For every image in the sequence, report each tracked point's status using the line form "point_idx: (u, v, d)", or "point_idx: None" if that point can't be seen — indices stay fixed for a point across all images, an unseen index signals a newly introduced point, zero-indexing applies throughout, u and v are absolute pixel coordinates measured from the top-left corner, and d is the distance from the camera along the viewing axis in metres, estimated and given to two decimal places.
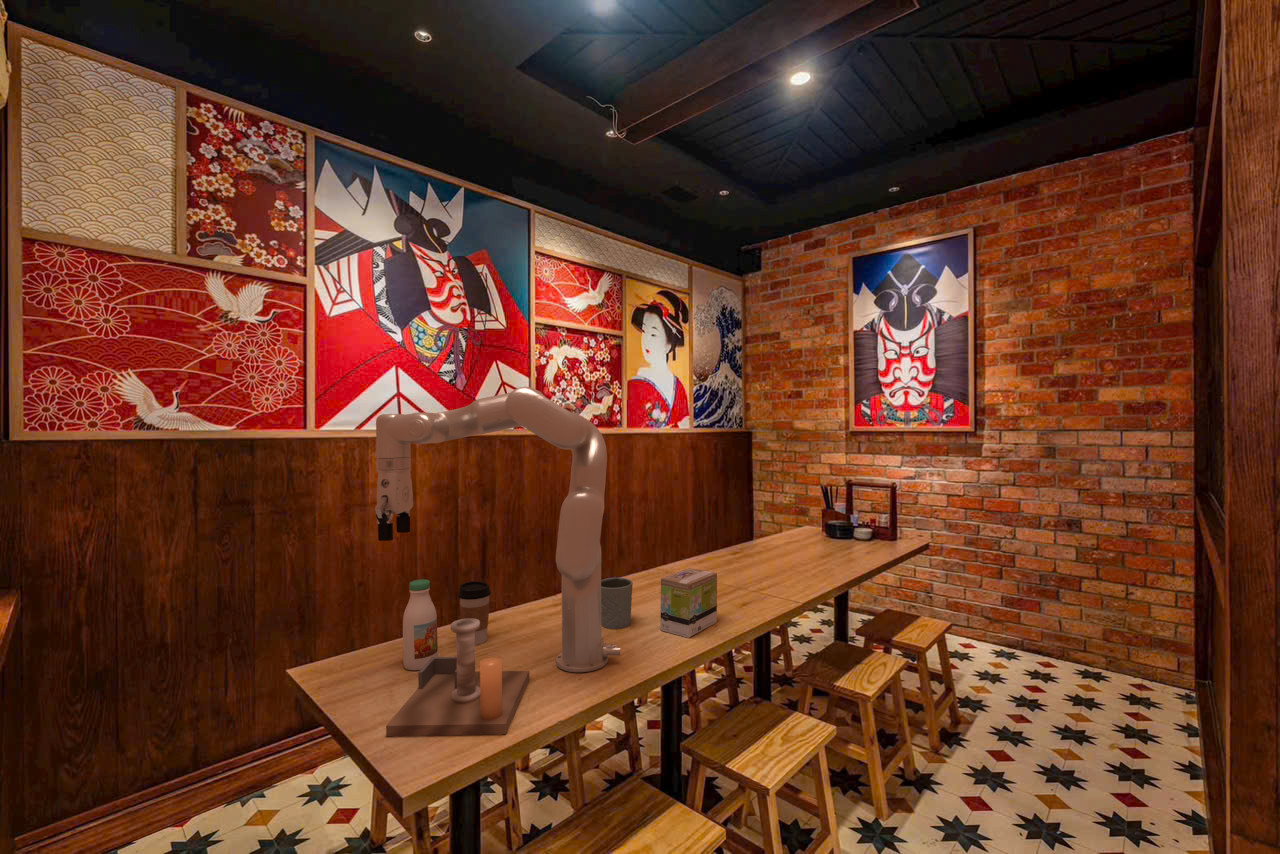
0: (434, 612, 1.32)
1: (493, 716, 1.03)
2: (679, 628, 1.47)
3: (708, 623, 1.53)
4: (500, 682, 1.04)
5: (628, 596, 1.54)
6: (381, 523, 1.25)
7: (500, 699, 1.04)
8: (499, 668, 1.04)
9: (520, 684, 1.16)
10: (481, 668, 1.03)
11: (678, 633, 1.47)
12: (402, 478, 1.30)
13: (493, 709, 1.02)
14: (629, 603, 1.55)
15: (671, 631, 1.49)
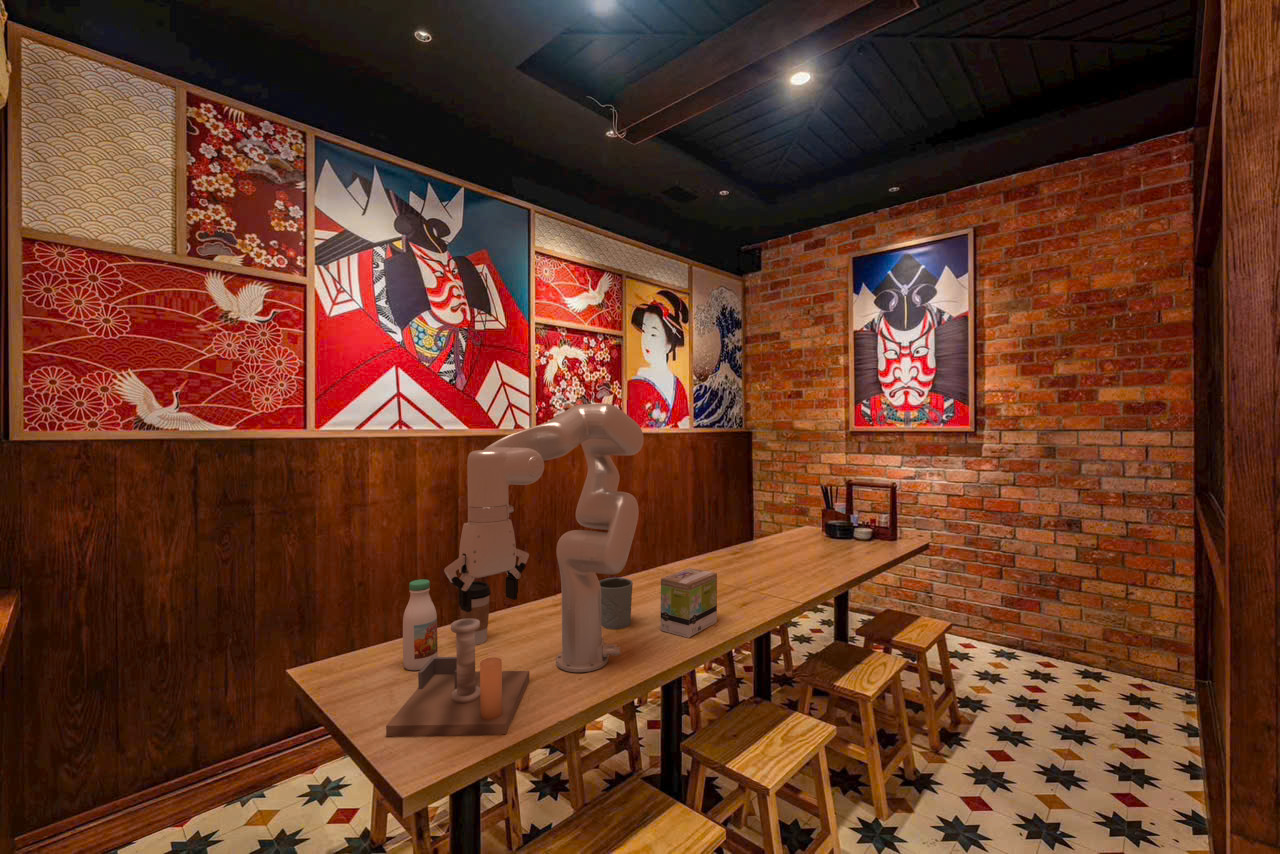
0: (434, 612, 1.32)
1: (493, 716, 1.03)
2: (679, 628, 1.47)
3: (708, 623, 1.53)
4: (500, 682, 1.04)
5: (628, 596, 1.54)
6: None
7: (500, 699, 1.04)
8: (499, 668, 1.04)
9: (520, 684, 1.16)
10: (481, 668, 1.03)
11: (678, 633, 1.47)
12: None
13: (493, 709, 1.02)
14: (629, 603, 1.55)
15: (671, 631, 1.49)
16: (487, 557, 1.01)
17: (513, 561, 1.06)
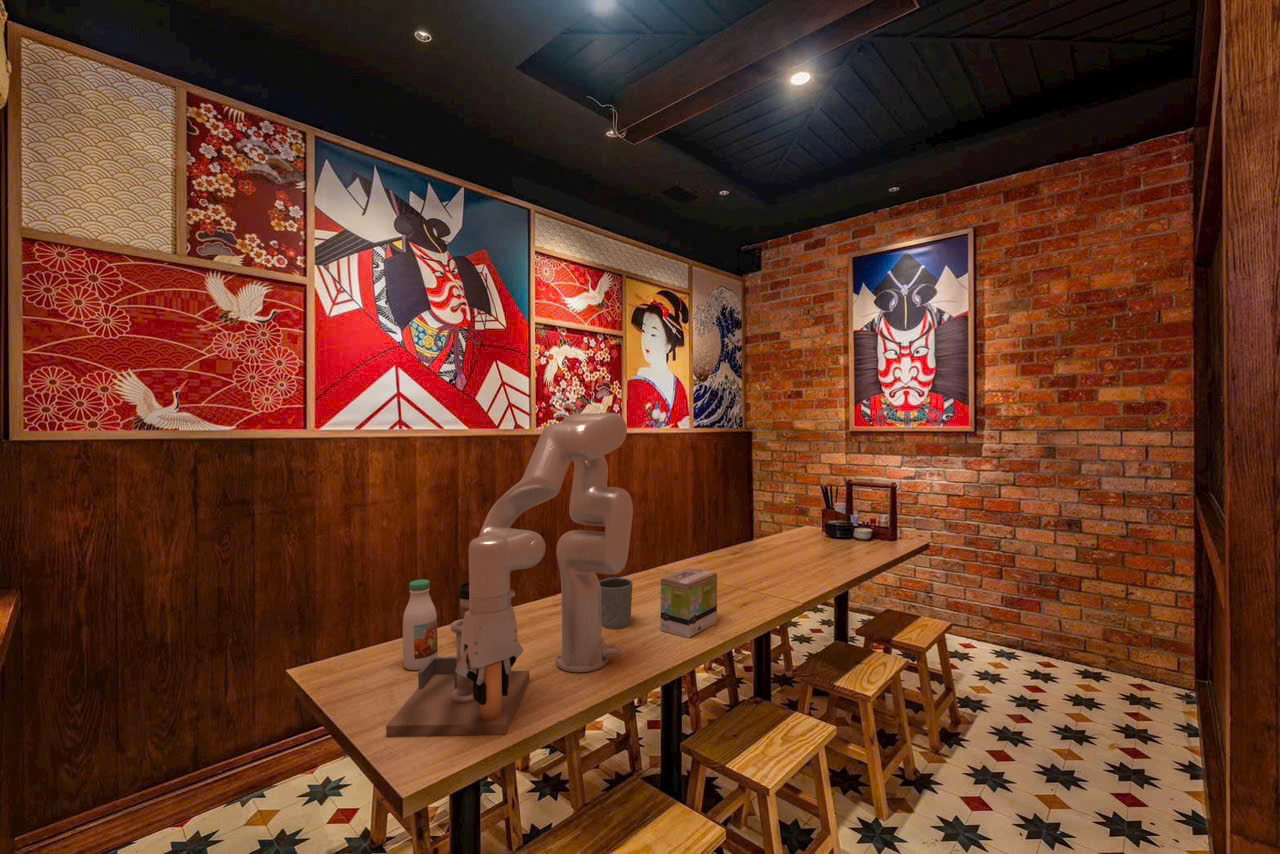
0: (434, 612, 1.32)
1: (493, 716, 1.03)
2: (679, 628, 1.47)
3: (708, 623, 1.53)
4: (500, 682, 1.04)
5: (628, 596, 1.54)
6: None
7: (500, 699, 1.04)
8: (499, 668, 1.04)
9: (520, 684, 1.16)
10: None
11: (678, 633, 1.47)
12: None
13: (493, 709, 1.02)
14: (629, 603, 1.55)
15: (671, 631, 1.49)
16: (489, 647, 1.01)
17: (515, 647, 1.06)
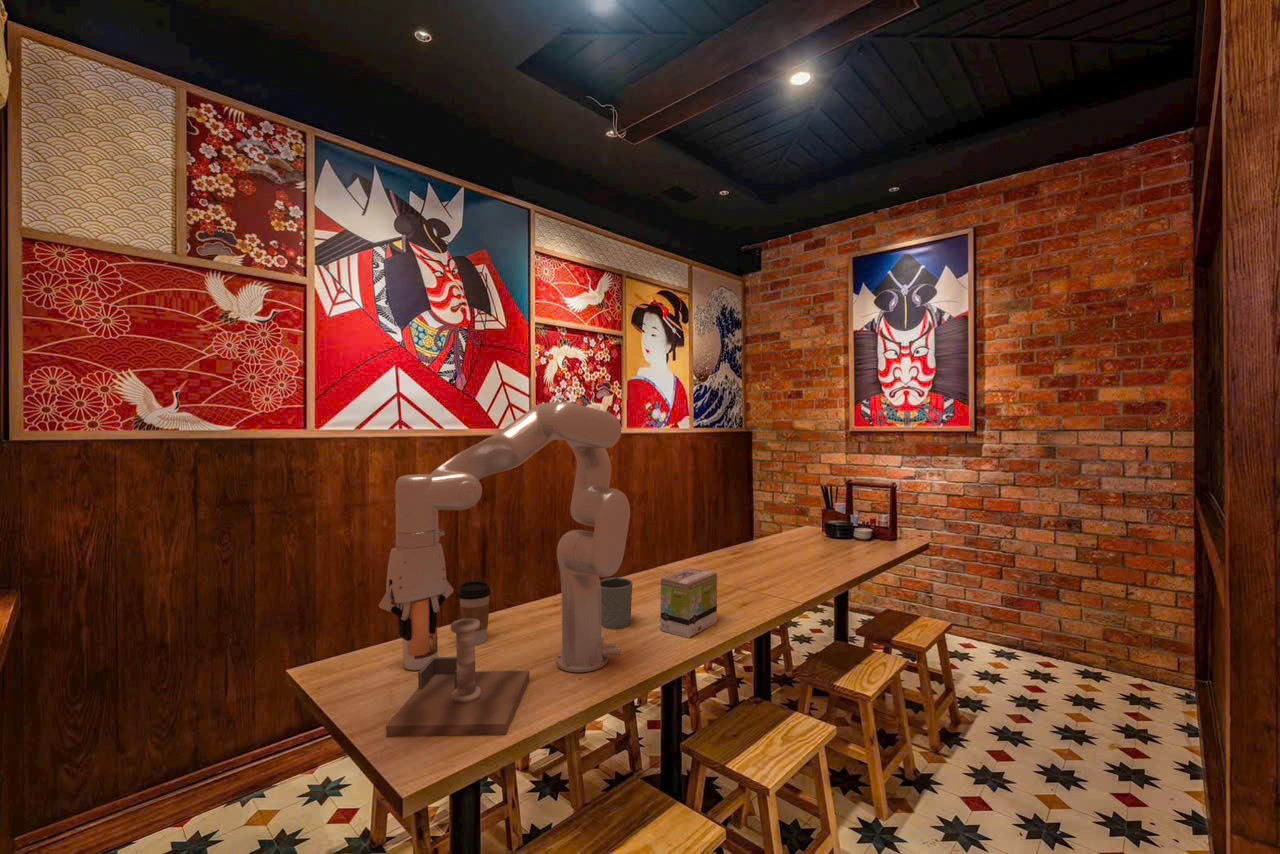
0: None
1: (419, 652, 1.02)
2: (679, 628, 1.47)
3: (708, 623, 1.53)
4: (427, 619, 1.04)
5: (628, 596, 1.54)
6: None
7: (427, 636, 1.04)
8: (426, 605, 1.03)
9: (520, 684, 1.16)
10: None
11: (678, 633, 1.47)
12: None
13: (419, 645, 1.02)
14: (629, 603, 1.55)
15: (671, 631, 1.49)
16: (414, 583, 1.01)
17: (443, 585, 1.06)
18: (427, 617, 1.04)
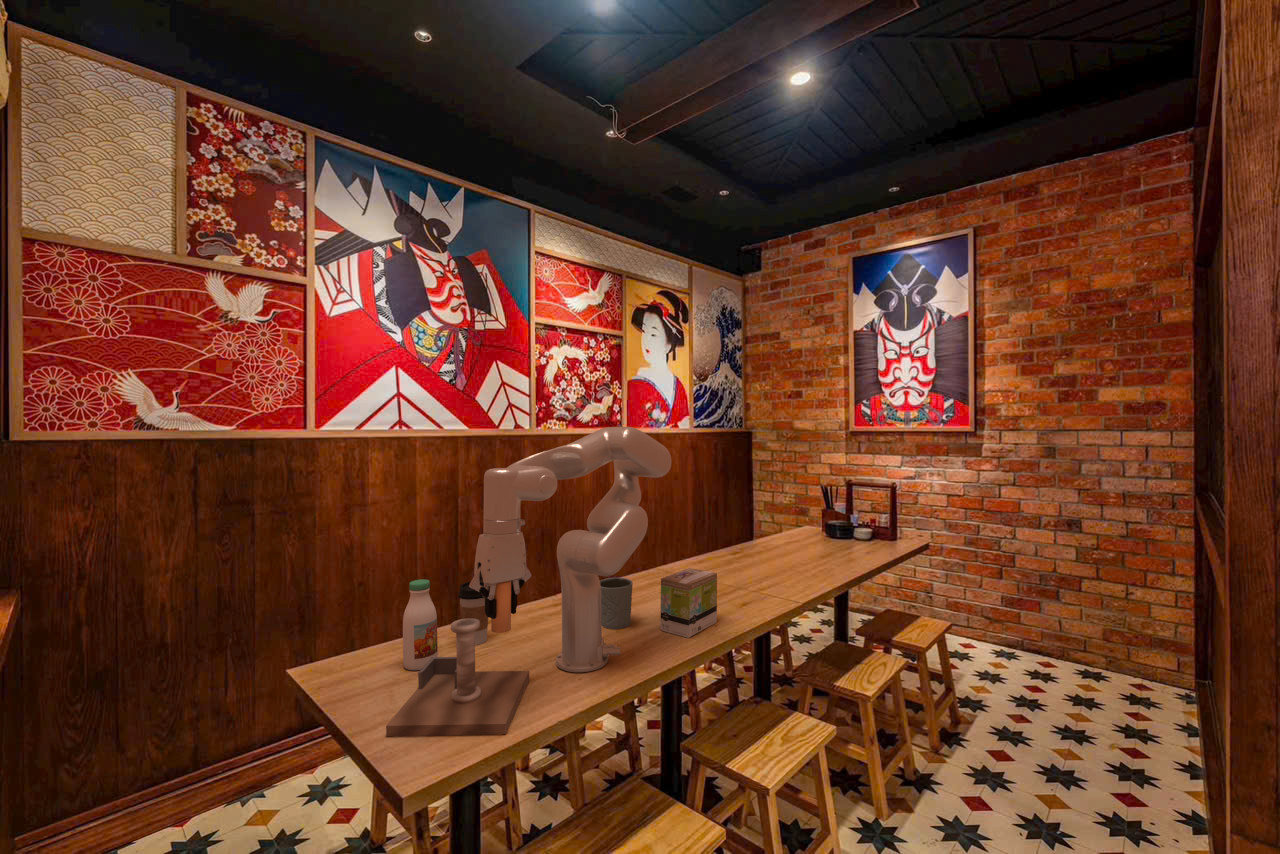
0: (434, 612, 1.32)
1: (502, 630, 1.13)
2: (679, 628, 1.47)
3: (708, 623, 1.53)
4: (509, 600, 1.14)
5: (628, 596, 1.54)
6: None
7: (509, 615, 1.14)
8: (509, 587, 1.14)
9: (520, 684, 1.16)
10: None
11: (678, 633, 1.47)
12: None
13: (502, 623, 1.13)
14: (629, 603, 1.55)
15: (671, 631, 1.49)
16: (500, 566, 1.12)
17: (523, 570, 1.16)
18: (510, 598, 1.14)
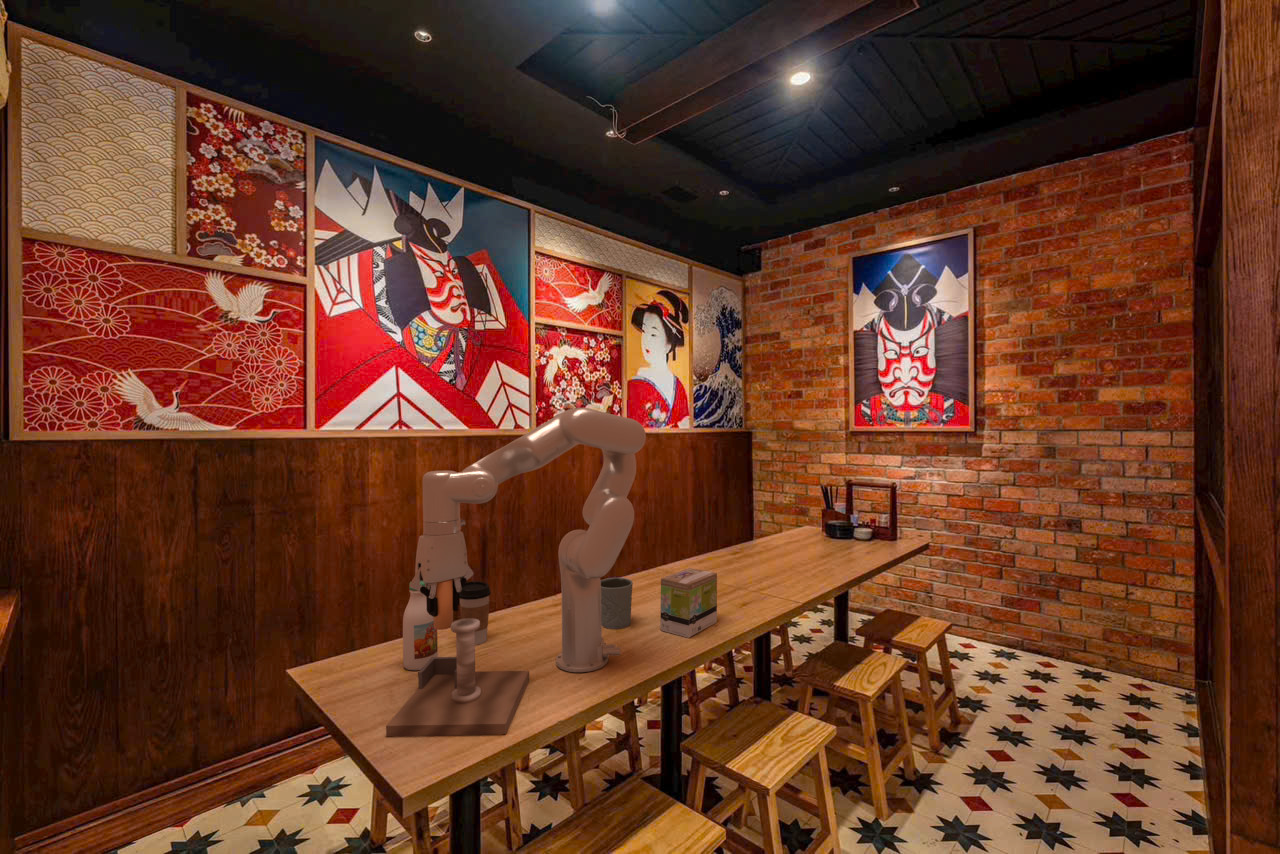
0: None
1: (444, 627, 1.16)
2: (679, 628, 1.47)
3: (708, 623, 1.53)
4: (451, 598, 1.18)
5: (628, 596, 1.54)
6: None
7: (451, 612, 1.18)
8: (450, 585, 1.17)
9: (520, 684, 1.16)
10: None
11: (678, 633, 1.47)
12: None
13: (444, 620, 1.16)
14: (629, 603, 1.55)
15: (671, 631, 1.49)
16: (440, 566, 1.15)
17: (464, 569, 1.20)
18: (451, 596, 1.18)
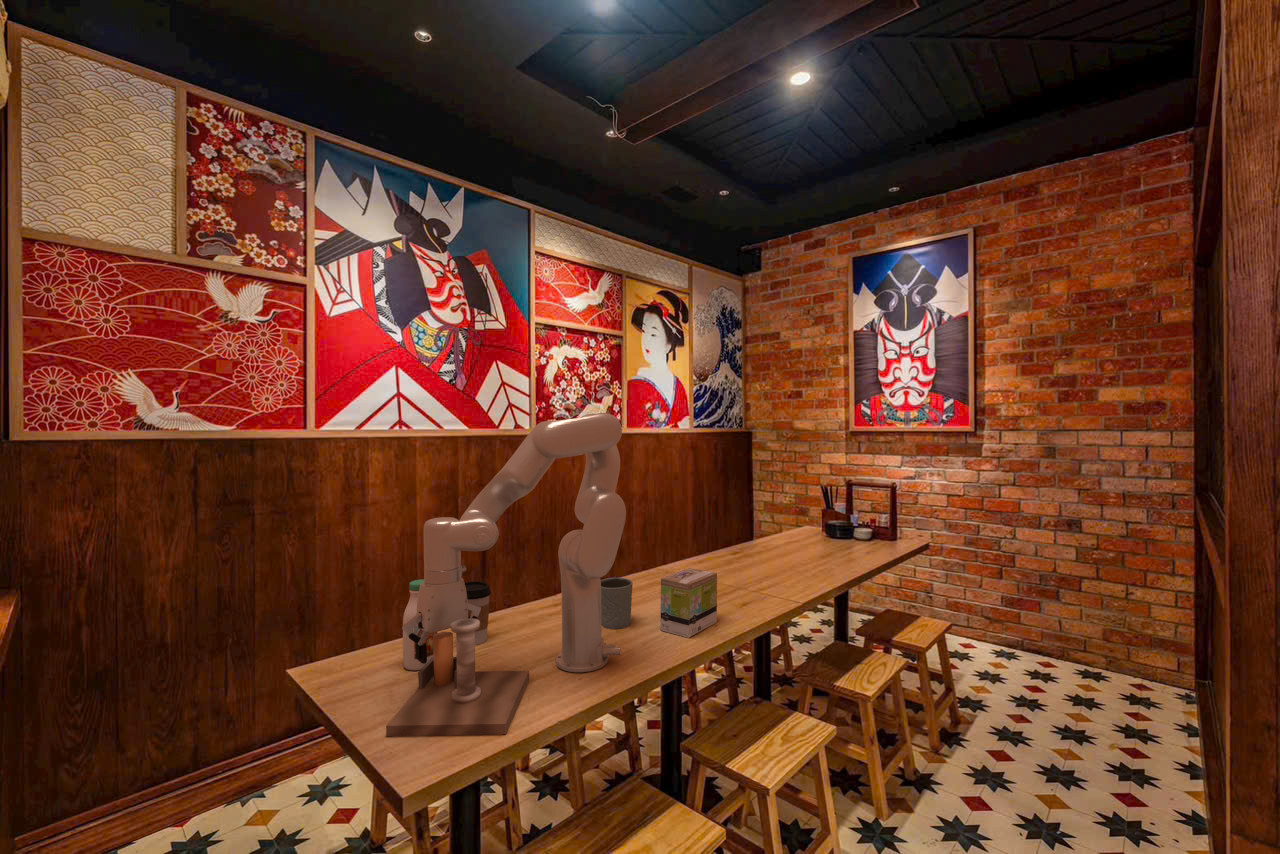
0: None
1: (444, 682, 1.16)
2: (679, 628, 1.47)
3: (708, 623, 1.53)
4: (451, 653, 1.18)
5: (628, 596, 1.54)
6: None
7: (451, 668, 1.18)
8: (450, 640, 1.17)
9: (520, 684, 1.16)
10: (434, 640, 1.17)
11: (678, 633, 1.47)
12: None
13: (444, 676, 1.16)
14: (629, 603, 1.55)
15: (671, 631, 1.49)
16: (440, 614, 1.15)
17: (465, 616, 1.20)
18: (451, 651, 1.18)
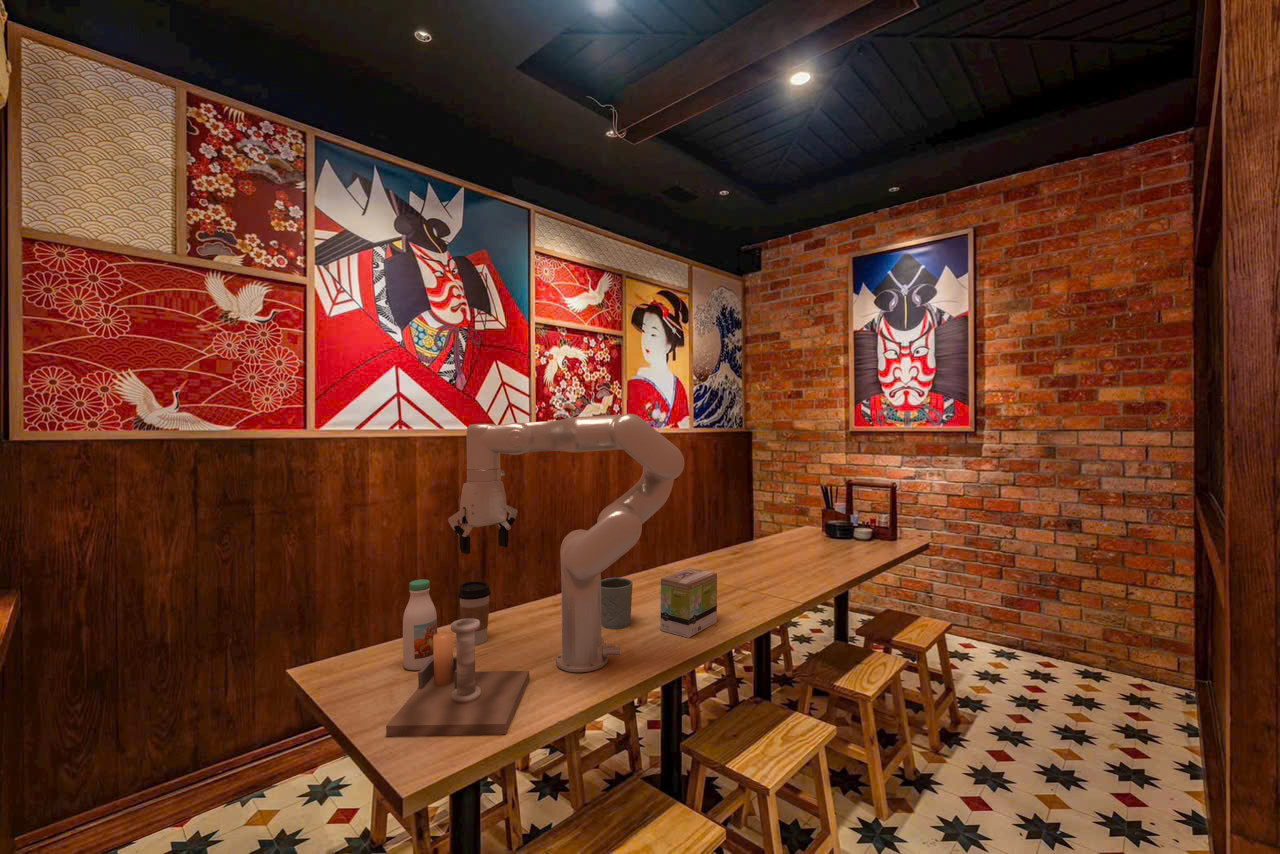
0: (434, 612, 1.32)
1: (444, 682, 1.16)
2: (679, 628, 1.47)
3: (708, 623, 1.53)
4: (451, 653, 1.18)
5: (628, 596, 1.54)
6: None
7: (451, 668, 1.18)
8: (450, 640, 1.17)
9: (520, 684, 1.16)
10: (434, 640, 1.17)
11: (678, 633, 1.47)
12: None
13: (444, 676, 1.16)
14: (629, 603, 1.55)
15: (671, 631, 1.49)
16: (483, 510, 1.25)
17: (504, 515, 1.29)
18: (451, 651, 1.18)
